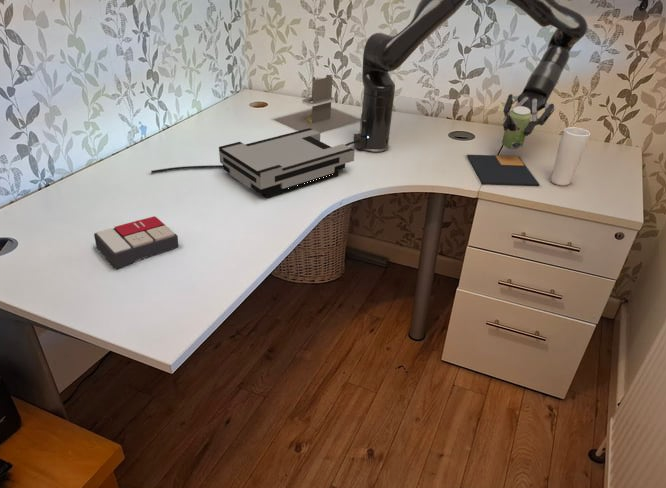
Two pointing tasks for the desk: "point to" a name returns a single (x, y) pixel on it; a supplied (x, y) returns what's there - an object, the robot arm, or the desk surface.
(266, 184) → the game console
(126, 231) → the button panel
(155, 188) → the desk surface
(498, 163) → the desk mat
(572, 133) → the drinking glass
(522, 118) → the beverage can
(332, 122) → the architectural model
